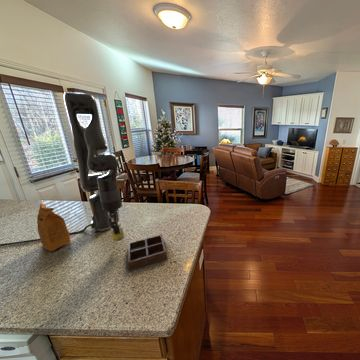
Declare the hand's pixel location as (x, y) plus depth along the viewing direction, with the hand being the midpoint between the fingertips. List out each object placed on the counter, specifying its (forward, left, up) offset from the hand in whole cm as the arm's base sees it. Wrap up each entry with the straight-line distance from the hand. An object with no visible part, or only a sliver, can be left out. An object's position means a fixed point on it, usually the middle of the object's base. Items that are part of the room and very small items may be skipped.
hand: (117, 230), depth 90 cm
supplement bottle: (0, 0, -5) cm, 5 cm away
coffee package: (-30, +22, -12) cm, 39 cm away
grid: (+11, -9, -12) cm, 18 cm away
